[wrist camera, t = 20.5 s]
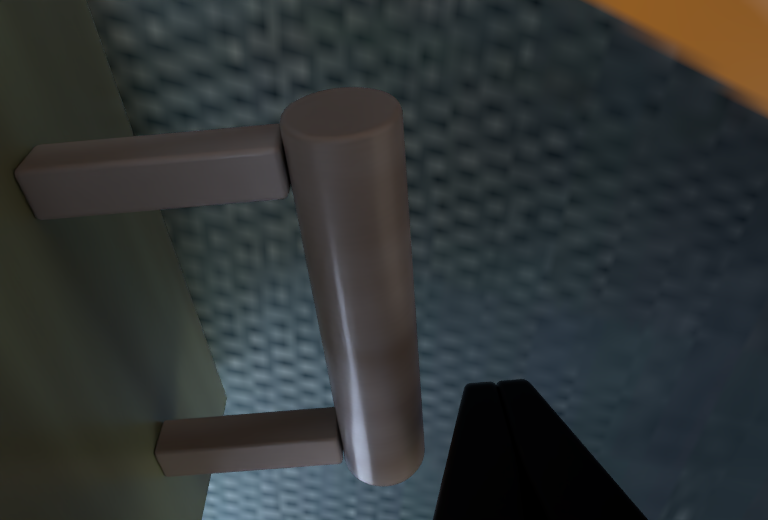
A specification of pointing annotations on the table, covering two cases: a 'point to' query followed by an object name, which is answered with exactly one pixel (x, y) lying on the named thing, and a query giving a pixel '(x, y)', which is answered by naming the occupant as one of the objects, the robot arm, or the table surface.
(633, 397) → the table surface
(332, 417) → the drawer
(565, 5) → the table surface
